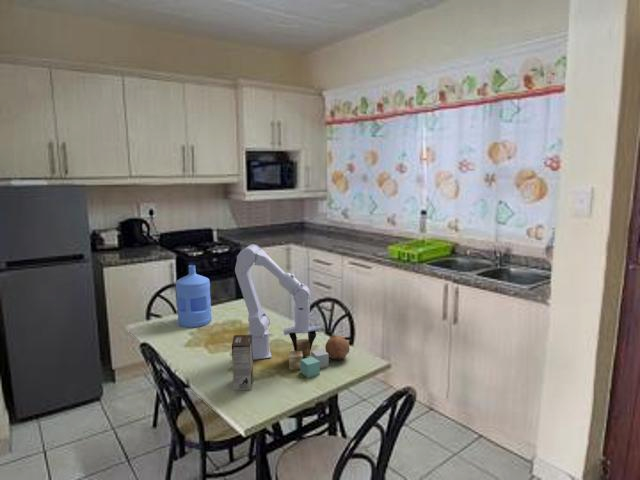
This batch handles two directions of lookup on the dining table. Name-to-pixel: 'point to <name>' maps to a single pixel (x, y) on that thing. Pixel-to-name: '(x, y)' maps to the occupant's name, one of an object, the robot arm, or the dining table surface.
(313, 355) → the grey cube
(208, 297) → the water jug
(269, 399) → the dining table surface
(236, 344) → the coffee box
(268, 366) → the dining table surface
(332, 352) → the onion
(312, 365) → the teal cube
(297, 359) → the maple cube
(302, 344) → the walnut cube
